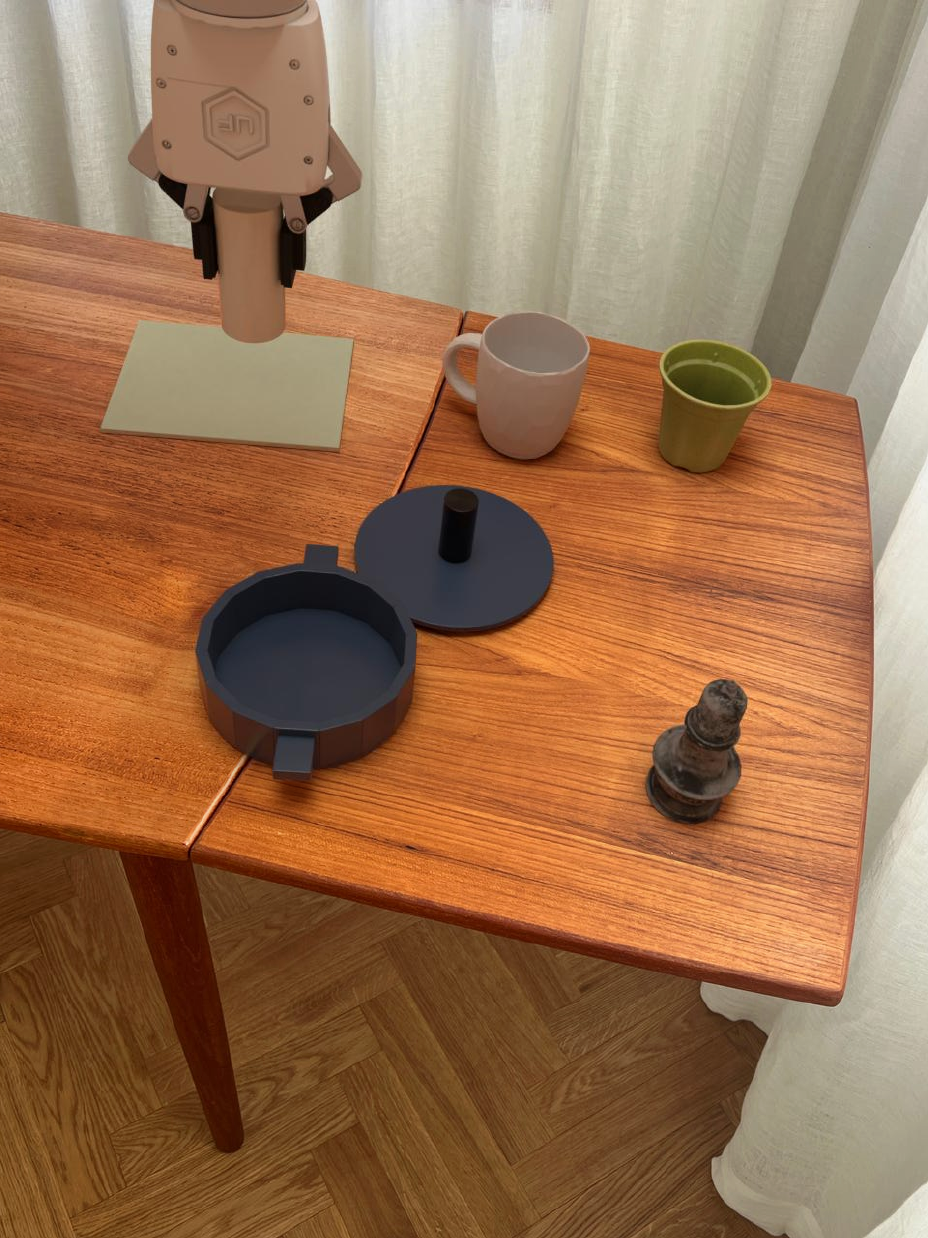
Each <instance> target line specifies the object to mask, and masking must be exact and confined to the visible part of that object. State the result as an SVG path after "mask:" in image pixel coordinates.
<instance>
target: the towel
mask: <svg viewBox="0 0 928 1238" xmlns="http://www.w3.org/2000/svg"><path fill="white" fill-rule="evenodd" d="M354 341H355V340H354V338H349V337H339V336H328V335H316V334H315V335H314V334H303V333H292V332H283V333H282V334H281V335H280V336H279V337H278V338H276V339H274V340H271V341H268V342H264V343H245V342H241V341H237V340H235V339H233V338H231V337H229V336H228V335H227V334H226V333H225V332H224V331H223V329H222V326H214V325H203V324H193V323H192V324H191V323H182V322H181V323H180V322H169V321H157V320H148V319H147V320H145V319H139V320H138V322H137V325H136V327H135V331H134V333H133V336H132V338H131V341H130V344H129V347H128V349H127V353H126V355H125V358H124V361H123V364H122V366H121V370H120V372H119V375H118V378H117V380H116V383H115V386H114V389H113V391H112V394H111V396H110V400H109V403H108V405H107V409H106V411H105V414H104V417H103V419H102V422H101V425H100V427H99V429H100V433H102V434H112V435H113V434H114V435H126V436H140V437H151V438H164V439H175V440H188V441H198V442H199V441H201V442H211V443H222V444H236V445H246V446H247V445H249V446H260V447H270V448H271V447H273V448H284V449H285V448H286V449H297V450H307V451H309V450H310V451H321V452H332V453H333V452H335V453H340V448H341V441H342V433H343V425H344V418H345V412H346V411H345V410H346V404H347V396H348V390H349V389H348V388H349V380H350V373H351V365H352V359H353V351H354Z"/></svg>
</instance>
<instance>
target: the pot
mask: <svg viewBox="0 0 928 1238" xmlns="http://www.w3.org/2000/svg"><path fill="white" fill-rule="evenodd" d="M339 550H340V549H339V546H338V545H330V544H329V545H328V544H314V543H306V544H305V549H304V556H303V562H297V563H291V564H286V565H282V566H277V567H272V568H267V569H263V570H259V571H256V572H255V573H253V574H251V575H249V576H248V577H245V578H244V579H242V580H240V581H239V582H236V583H235V584H234V585H232V586H230V587H228V588H226V589H225V590H224V591H223V592H222V593H221V594H220V596H219V597H218V598H217V600H216V601H215V602H214V603H213V605H212V606H211V607H210V608H209V610H207V612H206V614H205V615H203V617H202V619H201V623H200V627H199V632H198V635H197V640H196V645H195V649H194V651H195V660H196V668H197V674H198V675H197V676H198V682H199V690H200V692H201V695H202V700H203V704H204V709H205V710H206V713H207V715H208V716H207V717H208V718H209V720H210V722H211V723H212V725H213V726H214V728H215V729H216V731H217V732H218V733H219V734H220V736H222V738H223V739H224V740H225V741H226V742H228V743H229V744H230V745H231V746H232V747H234V749H236V750H238V751H239V752H241V753H242V754H244V755H246V756H248V757H249V758H252V759H254V760H256V761H258V762H262V763H264V764H267V765H270V766H272V770H271V771H272V773H271V774H272V779H273V780H279V781H295V782H296V781H297V782H312V778H313V770H321V769H329V768H333V767H338V766H342V765H345V764H348V763H351V762H354V761H356V760H358V759H361V758H362V757H365V756H367V755H368V754H370V753H371V752H373V751H375V750H376V749H378V748H379V747H380V746H382V745H383V744H384V743H385V742H387V741H388V740H389V739H390V738H391V737H392V735H393V734H394V733H395V732H396V731H397V730H398V728H399V727H400V725H401V724H402V723H403V721H404V719H405V717H406V714H407V713H408V711H409V708H410V706H411V704H412V702H413V696H414V685H415V675H416V666H417V650H418V649H417V648H418V647H417V646H418V632H417V630H416V628H415V625H414V623H413V622H412V621H411V619H410V617H409V615H408V613H407V611H406V609H405V607H404V605H403V603H402V602H401V601H399V600H398V599H397V598H396V597H395V596H394V595H392V594H391V593H390V592H389V591H388V590H386V589H385V588H384V587H383V586H382V585H381V584H379V583H378V582H377V581H376V580H374V579H372V578H369V577H366V576H364V575H361V574H359V573H358V572H356V571H353V570H350V569H348V568H345V567H343V566H339V565H338V562H339V552H340V551H339Z"/></svg>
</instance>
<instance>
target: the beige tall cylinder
mask: <svg viewBox="0 0 928 1238" xmlns="http://www.w3.org/2000/svg"><path fill="white" fill-rule="evenodd" d="M211 197H212V199H213V214H214V228H215V242H216V256H217V270H218V271H217V283H218V298H219V312H220V325H221V326H220V327H222V329H223V331H224V332H225V333H226V334H227V335H228V336H229V337H231V338H233V339H235V340H237V341H241V342H245V343H264V342H268V341H271V340H274V339H276V338H278V337H279V336H280V335H281V334H282V333H285V330H286V328H287V327H286V326H287V314H286V313H287V311H286V309H287V307H286V288H284V285H281V270H280V232H281V228H282V225H283V223H284V217H285V213H284V209H283V205H282V202H281V198H280V195H277V194H267V193H258V192H248V191H239V190H230V189H222V188H215V189H213V192H212V196H211Z"/></svg>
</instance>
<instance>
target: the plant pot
mask: <svg viewBox="0 0 928 1238" xmlns="http://www.w3.org/2000/svg"><path fill="white" fill-rule="evenodd" d="M658 367H659V374H660V376H661V378H662V379H661V381H662V382H661V383H662V388H663V391H662V392H663V394H662V402H661V411H660V421H659V429H658V437H657V438H658V439H657V448H658V452H659V453H660V455H661V456H662V458H663V459H664V460H665V461H666V462H667V463H669V464H670V465H672V466H673V467H680V468H684V469H686V470H688V471H689V472H691V473H708V472H712V471H715V470H717V469H718V468H720V467H722V466H723V463H724V462H725V461H726V459H727V457H728V455H729V453H730V451H731V450H732V447H733V446H734V444H735V442H736V440H737V438H738V436H739V435H740V433H741V431H742V430H743V428H744V425H745V423H746V422H747V420H748V418H749V416H750V415H751V413H752V412H753V411H754V410H755V409H756V407H757V406H758V405H760V404H761V403H762V402H763V401H764V400H765V399H766V398H767V397H768V395H769V394H770V392H771V388H772V377H771V374H770V372H769V370H768V369H767V367H766V365H764V363H762V361H760V360H759V358H758V357H756V356H755V355H753V354H751V353H750V352H748V351H746V350H745V349H743V348H741V347H738V346H736V345H733V344H731V343H727V342H724V341H719V340H711V339H689V340H684V341H680V342H678V343H675V344H673V345H671V346H670V347H668V348H667V349H665V351H664V352H663V353H662V355H661V357H660V359H659V366H658Z"/></svg>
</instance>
